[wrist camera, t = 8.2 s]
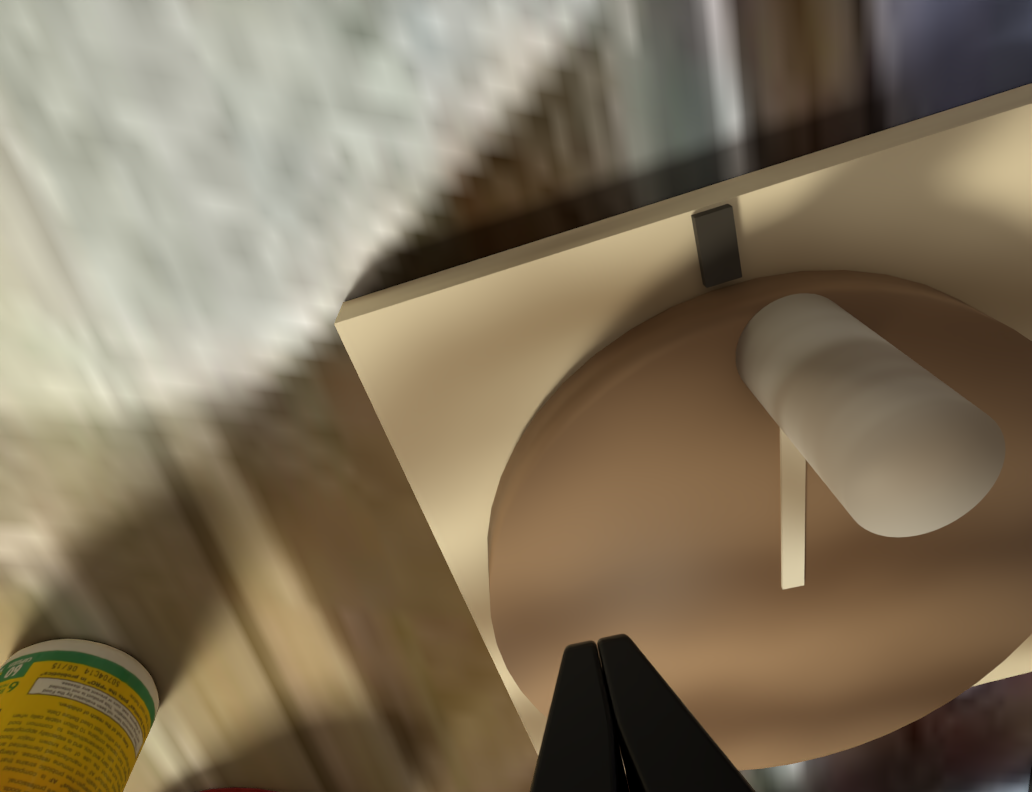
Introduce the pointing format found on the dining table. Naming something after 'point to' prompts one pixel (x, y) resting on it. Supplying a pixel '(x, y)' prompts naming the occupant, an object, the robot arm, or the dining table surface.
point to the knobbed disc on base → (780, 510)
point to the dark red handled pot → (236, 790)
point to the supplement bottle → (72, 717)
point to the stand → (679, 300)
